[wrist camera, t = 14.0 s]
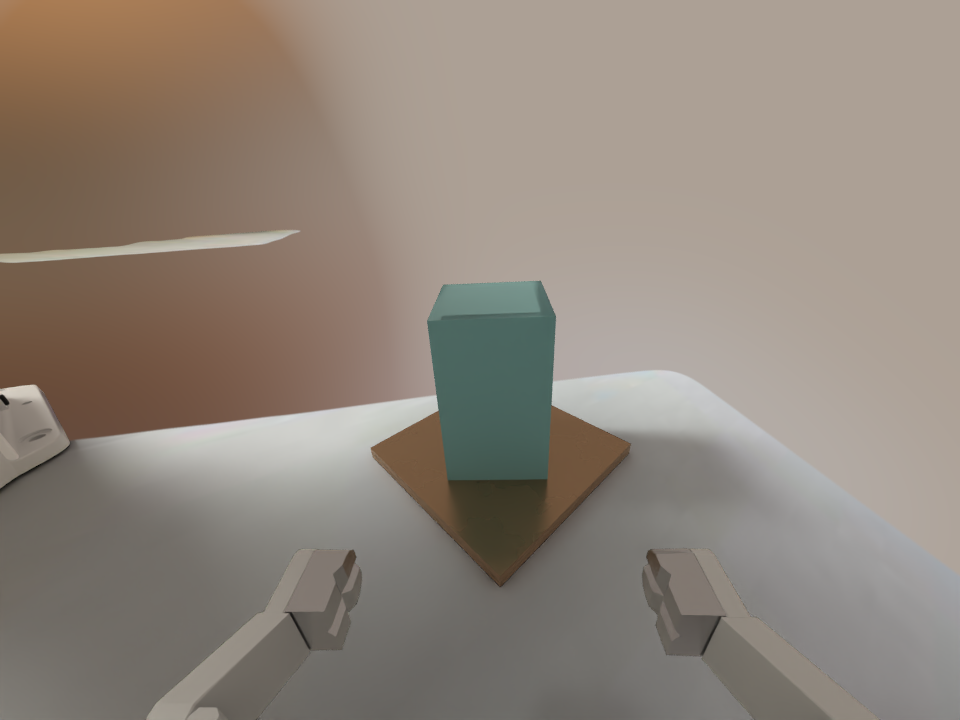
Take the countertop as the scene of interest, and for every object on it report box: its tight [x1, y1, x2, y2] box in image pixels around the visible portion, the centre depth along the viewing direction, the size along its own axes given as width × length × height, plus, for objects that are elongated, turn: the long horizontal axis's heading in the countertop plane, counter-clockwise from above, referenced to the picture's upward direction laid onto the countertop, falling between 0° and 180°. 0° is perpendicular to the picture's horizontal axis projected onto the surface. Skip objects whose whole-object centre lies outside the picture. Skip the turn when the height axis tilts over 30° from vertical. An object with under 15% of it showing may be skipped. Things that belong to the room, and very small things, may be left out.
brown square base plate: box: [371, 405, 631, 587], centre depth 22 cm, size 17×17×8 cm
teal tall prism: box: [427, 281, 556, 480], centre depth 21 cm, size 6×6×10 cm
